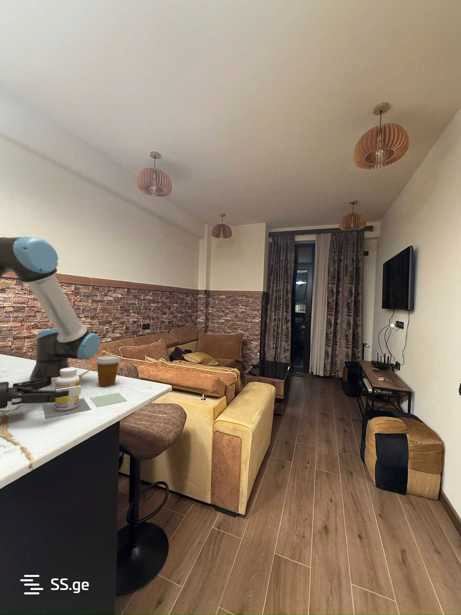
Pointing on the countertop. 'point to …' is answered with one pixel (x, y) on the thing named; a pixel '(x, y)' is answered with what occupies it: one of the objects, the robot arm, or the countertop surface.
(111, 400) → the mat
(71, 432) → the countertop surface
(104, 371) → the disposable coffee cup
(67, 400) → the supplement bottle
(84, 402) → the mat
